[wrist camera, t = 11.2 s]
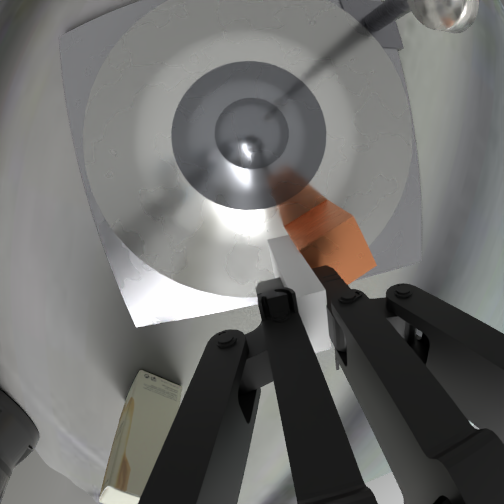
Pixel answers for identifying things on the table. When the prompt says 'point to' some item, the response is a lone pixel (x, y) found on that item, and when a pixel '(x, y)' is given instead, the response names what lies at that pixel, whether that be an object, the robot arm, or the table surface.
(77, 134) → the turntable base
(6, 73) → the table surface
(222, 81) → the cover
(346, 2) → the post
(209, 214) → the platter
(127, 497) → the skincare box
